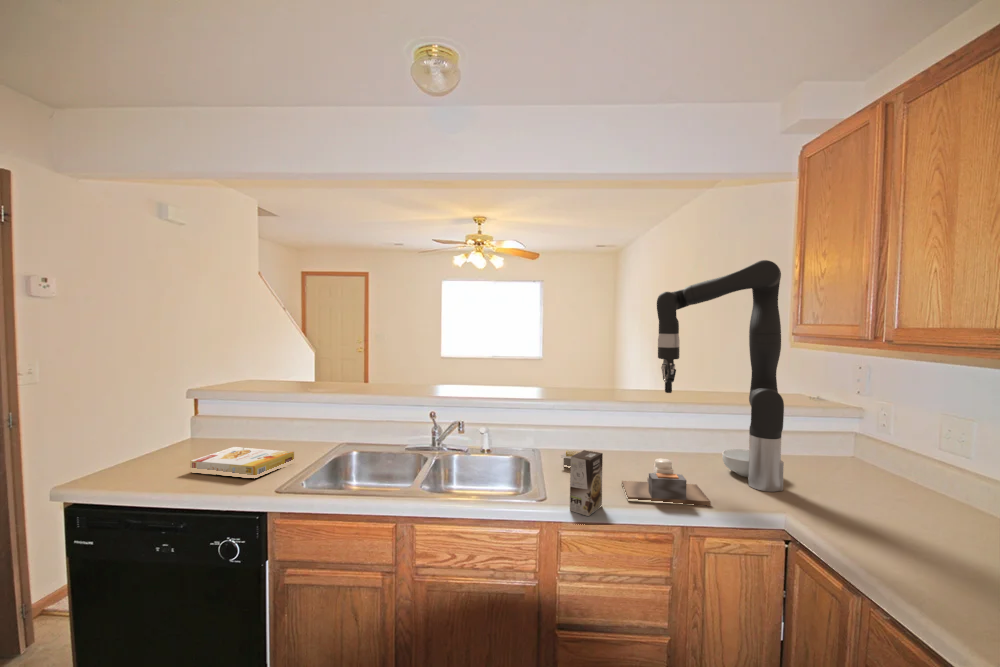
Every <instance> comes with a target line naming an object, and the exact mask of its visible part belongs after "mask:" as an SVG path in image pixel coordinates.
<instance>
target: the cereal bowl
mask: <svg viewBox="0 0 1000 667" xmlns="http://www.w3.org/2000/svg"><path fill="white" fill-rule="evenodd" d="M721 456H722V462H723V464H724V466H725V467H726V468H727V469H728V470H730V471H731V472H734V473H735V474H736V475H738V476H741V477H745V478H748V475H749V449H742V448H733V449H726V450H723V451H722V453H721Z"/></svg>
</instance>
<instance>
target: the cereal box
mask: <svg viewBox="0 0 1000 667" xmlns="http://www.w3.org/2000/svg"><path fill="white" fill-rule="evenodd" d="M293 459H294V460H295V451H287V450H275V449H263V448H252V447H239V446H232V447H229V448H225V449H223V450H220V451H218V452H217V451H216V452H214V453H211V454H207V455H204V456H201V457H198V458H194V459H192V460H190V463H189V464H190V468H197V469H207V470H216V471H223V472H232V473H239V474H247V475H257V474H260V473H262V472H264V471H267V470H269V469H272V468H274V467H277V466H279V465H281V464H284V463H286V462H289V461H291V460H293Z"/></svg>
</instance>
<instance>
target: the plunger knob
mask: <svg viewBox="0 0 1000 667" xmlns="http://www.w3.org/2000/svg"><path fill="white" fill-rule="evenodd" d="M653 473H664V474H674V469H673V461H672V460H671V459H668V458H655V460H654V463H653Z"/></svg>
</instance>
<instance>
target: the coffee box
mask: <svg viewBox="0 0 1000 667" xmlns="http://www.w3.org/2000/svg"><path fill="white" fill-rule="evenodd" d="M578 452H579V453H577V454H575V455H573V456H571V467H570V468H569V469H570V472H569V473H570V474H569V475H570V478H569V483H570V484H569V511H570V512H574V513H576V514H580V515H583V516H586V517H590V516H591V515H592V514H593V513H595V512H596V511H598V510H599V509H600V508H601V507H600V506H601V505H602V506H603V456H604V455H603V452H598V451H592V450H585V449H583V450H581V451H578ZM599 507H600V508H599ZM598 508H599V509H598Z"/></svg>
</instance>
